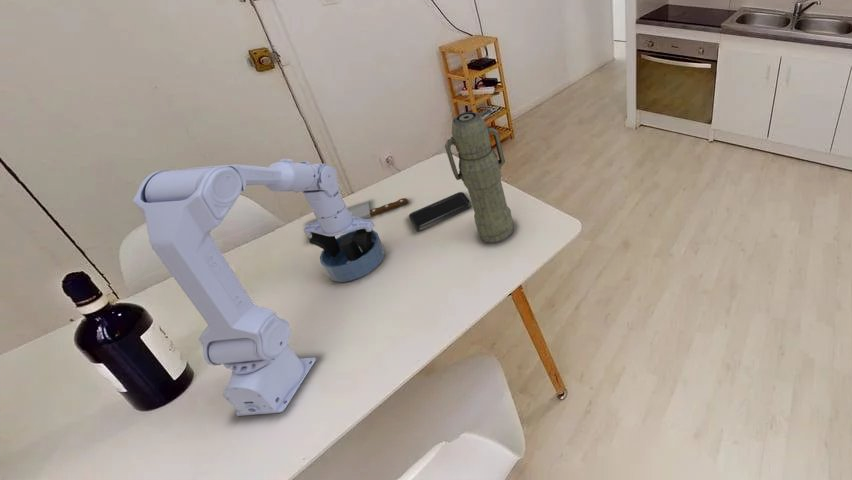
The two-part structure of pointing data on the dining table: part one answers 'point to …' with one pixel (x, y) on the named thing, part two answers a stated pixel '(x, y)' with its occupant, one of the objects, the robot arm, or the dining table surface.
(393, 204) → the kitchen cleaver
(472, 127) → the thermos
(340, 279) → the blue round bowl
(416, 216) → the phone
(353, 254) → the blade unit
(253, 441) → the dining table surface
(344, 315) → the dining table surface
